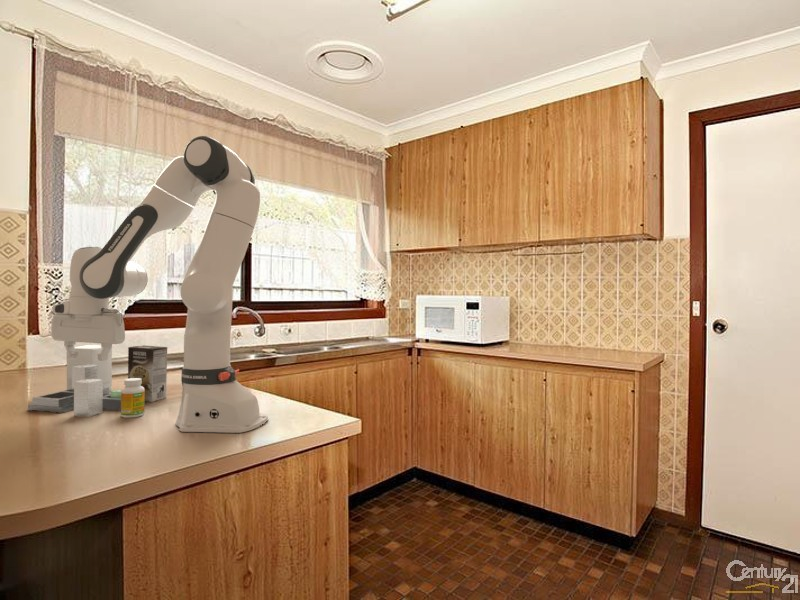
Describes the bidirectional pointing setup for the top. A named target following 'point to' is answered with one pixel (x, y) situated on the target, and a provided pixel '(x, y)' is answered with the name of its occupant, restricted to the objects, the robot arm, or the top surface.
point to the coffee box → (149, 369)
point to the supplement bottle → (132, 398)
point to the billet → (88, 397)
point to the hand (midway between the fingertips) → (87, 359)
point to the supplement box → (90, 357)
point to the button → (115, 394)
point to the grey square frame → (111, 403)
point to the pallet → (66, 392)
